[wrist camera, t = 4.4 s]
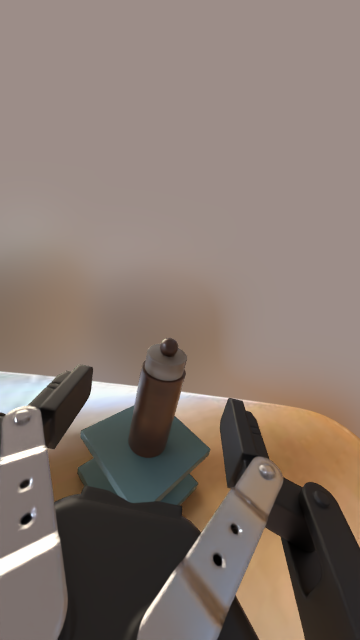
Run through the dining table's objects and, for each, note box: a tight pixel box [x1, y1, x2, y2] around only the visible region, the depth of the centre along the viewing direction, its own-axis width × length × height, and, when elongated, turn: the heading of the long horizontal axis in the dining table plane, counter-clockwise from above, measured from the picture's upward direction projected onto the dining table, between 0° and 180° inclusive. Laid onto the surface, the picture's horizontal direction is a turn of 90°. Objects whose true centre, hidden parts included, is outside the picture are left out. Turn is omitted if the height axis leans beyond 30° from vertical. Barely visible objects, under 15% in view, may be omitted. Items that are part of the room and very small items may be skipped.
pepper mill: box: [128, 338, 187, 458], centre depth 27 cm, size 5×5×15 cm
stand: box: [77, 406, 210, 506], centre depth 31 cm, size 12×12×8 cm
